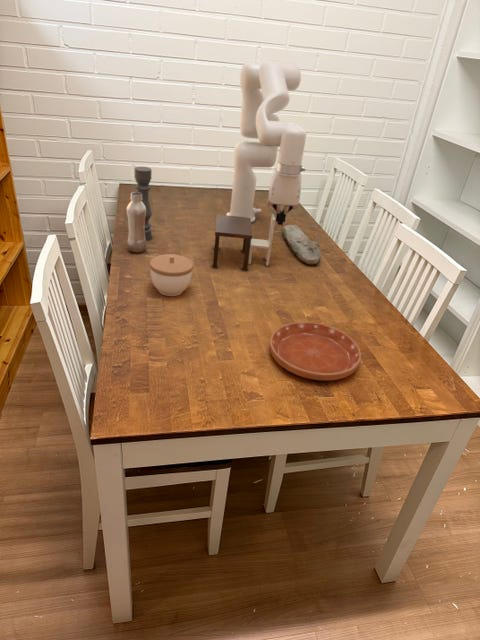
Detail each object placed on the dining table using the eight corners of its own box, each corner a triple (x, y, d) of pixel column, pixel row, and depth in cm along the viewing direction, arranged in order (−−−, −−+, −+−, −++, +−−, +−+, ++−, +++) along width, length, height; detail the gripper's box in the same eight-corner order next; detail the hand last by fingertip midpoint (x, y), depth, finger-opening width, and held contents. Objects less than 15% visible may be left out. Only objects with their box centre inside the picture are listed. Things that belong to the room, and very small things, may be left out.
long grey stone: (299, 233, 200) (276, 234, 198) (301, 221, 197) (277, 221, 195) (326, 266, 170) (299, 266, 168) (328, 252, 167) (301, 252, 165)
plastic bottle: (150, 250, 166) (150, 193, 156) (138, 256, 161) (138, 198, 150) (134, 245, 168) (134, 189, 158) (123, 251, 163) (121, 193, 152)
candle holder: (154, 236, 177) (155, 168, 164) (146, 242, 172) (146, 172, 159) (139, 233, 178) (139, 165, 165) (130, 238, 173) (130, 168, 160)
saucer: (295, 394, 108) (298, 381, 106) (253, 339, 125) (255, 327, 123) (376, 376, 117) (380, 364, 115) (326, 327, 134) (329, 316, 132)
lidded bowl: (174, 277, 151) (175, 244, 145) (200, 293, 143) (202, 259, 138) (140, 287, 142) (140, 253, 137) (166, 305, 135) (167, 270, 130)
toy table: (246, 251, 175) (250, 217, 168) (247, 271, 160) (252, 235, 154) (214, 247, 174) (217, 214, 167) (212, 267, 159) (215, 231, 153)
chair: (267, 258, 170) (274, 213, 162) (268, 265, 165) (275, 219, 157) (248, 256, 170) (253, 211, 161) (248, 263, 165) (254, 217, 156)
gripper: (310, 168, 155) (300, 222, 164) (264, 163, 154) (257, 217, 163) (313, 174, 148) (302, 230, 158) (266, 169, 147) (258, 225, 157)
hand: (279, 223), depth 160 cm, fingers closed
